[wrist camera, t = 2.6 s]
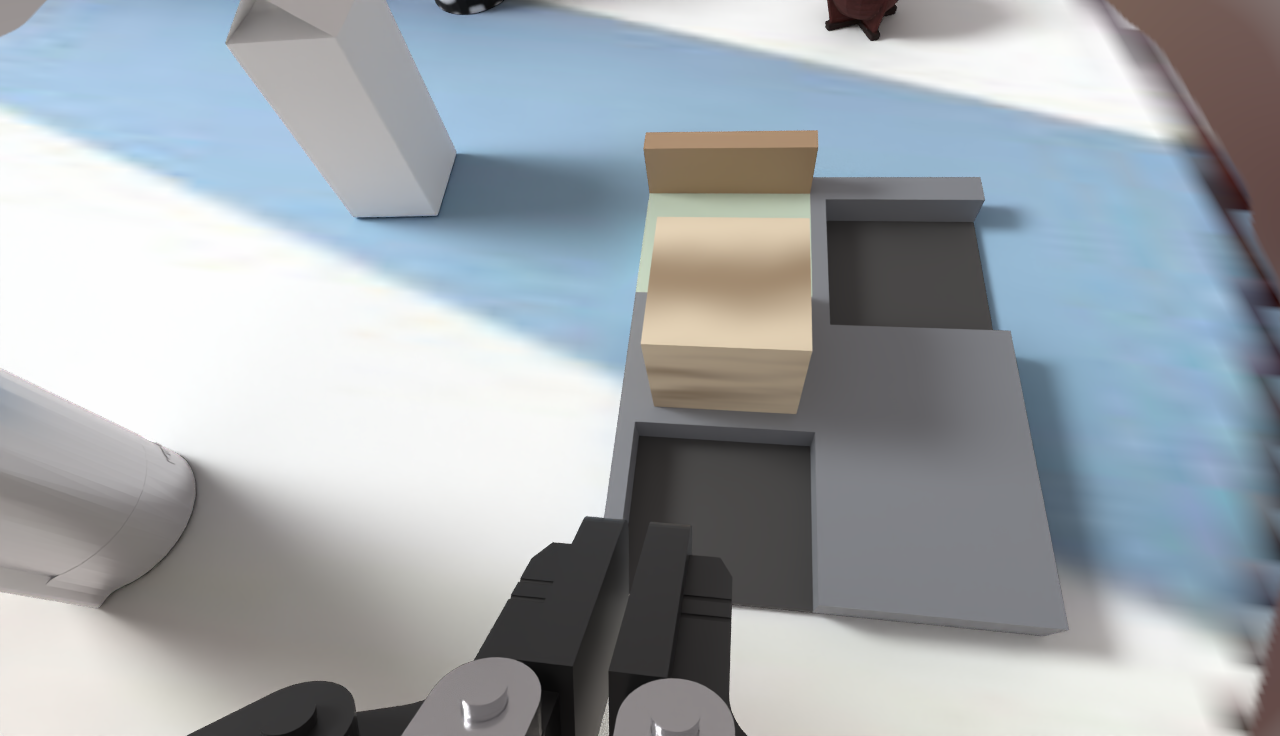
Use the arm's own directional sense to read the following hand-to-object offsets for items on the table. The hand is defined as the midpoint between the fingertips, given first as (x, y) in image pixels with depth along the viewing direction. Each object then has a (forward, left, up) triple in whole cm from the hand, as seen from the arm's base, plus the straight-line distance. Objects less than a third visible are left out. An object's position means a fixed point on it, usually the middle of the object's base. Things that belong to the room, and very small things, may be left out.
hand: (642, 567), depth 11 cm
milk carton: (+22, +35, -24) cm, 48 cm away
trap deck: (+18, 0, -24) cm, 30 cm away
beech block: (+16, +5, -21) cm, 27 cm away
